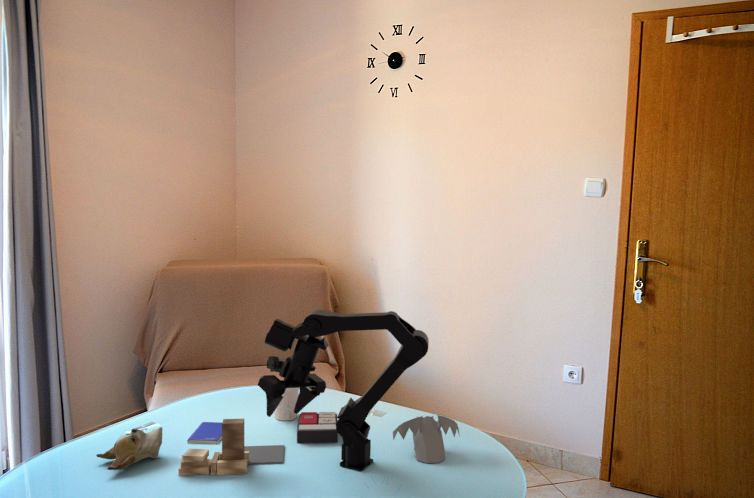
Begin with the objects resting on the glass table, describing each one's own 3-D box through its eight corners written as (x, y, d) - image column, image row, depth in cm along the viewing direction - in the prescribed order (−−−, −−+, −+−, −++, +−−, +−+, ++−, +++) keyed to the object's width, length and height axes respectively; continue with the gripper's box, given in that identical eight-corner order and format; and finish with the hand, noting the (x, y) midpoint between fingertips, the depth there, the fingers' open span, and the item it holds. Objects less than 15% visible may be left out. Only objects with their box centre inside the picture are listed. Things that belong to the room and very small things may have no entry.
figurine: (454, 441, 163) (455, 403, 162) (467, 462, 151) (469, 420, 150) (390, 444, 161) (390, 405, 160) (398, 465, 148) (398, 423, 147)
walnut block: (244, 465, 147) (244, 418, 146) (243, 471, 144) (243, 423, 143) (223, 466, 146) (223, 419, 145) (222, 471, 143) (221, 423, 142)
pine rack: (249, 462, 148) (249, 450, 148) (246, 473, 143) (246, 461, 142) (214, 463, 147) (214, 452, 147) (210, 475, 142) (210, 462, 141)
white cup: (269, 414, 181) (269, 382, 180) (294, 410, 185) (294, 379, 184) (276, 423, 174) (276, 390, 173) (302, 419, 177) (302, 387, 177)
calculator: (337, 410, 176) (337, 427, 161) (336, 424, 176) (337, 443, 161) (299, 410, 175) (296, 428, 160) (299, 425, 175) (296, 444, 160)
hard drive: (217, 439, 159) (229, 422, 172) (187, 438, 159) (201, 421, 172) (217, 445, 159) (229, 427, 172) (187, 444, 160) (201, 426, 172)
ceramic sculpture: (169, 427, 148) (105, 446, 138) (172, 460, 149) (109, 481, 139) (154, 415, 156) (93, 432, 146) (157, 446, 157) (96, 465, 147)
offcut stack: (212, 464, 147) (212, 446, 147) (208, 474, 142) (208, 456, 141) (182, 465, 146) (182, 447, 146) (178, 475, 141) (177, 457, 141)
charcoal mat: (284, 446, 158) (284, 445, 158) (282, 463, 148) (282, 461, 148) (238, 447, 157) (238, 446, 157) (233, 465, 147) (233, 463, 147)
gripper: (309, 344, 160) (289, 396, 162) (255, 343, 146) (234, 400, 148) (336, 363, 153) (315, 417, 155) (282, 365, 139) (260, 424, 141)
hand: (282, 414), depth 150 cm, fingers open, 9 cm apart
